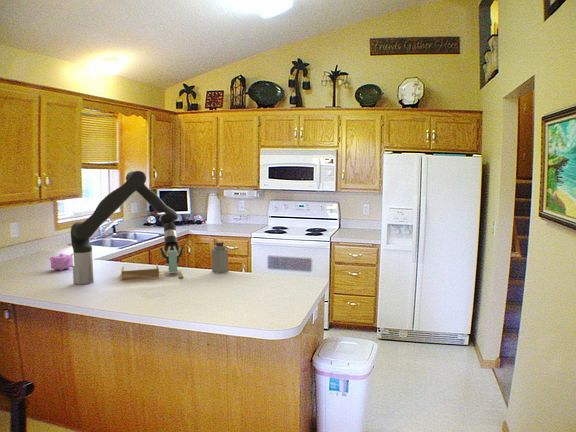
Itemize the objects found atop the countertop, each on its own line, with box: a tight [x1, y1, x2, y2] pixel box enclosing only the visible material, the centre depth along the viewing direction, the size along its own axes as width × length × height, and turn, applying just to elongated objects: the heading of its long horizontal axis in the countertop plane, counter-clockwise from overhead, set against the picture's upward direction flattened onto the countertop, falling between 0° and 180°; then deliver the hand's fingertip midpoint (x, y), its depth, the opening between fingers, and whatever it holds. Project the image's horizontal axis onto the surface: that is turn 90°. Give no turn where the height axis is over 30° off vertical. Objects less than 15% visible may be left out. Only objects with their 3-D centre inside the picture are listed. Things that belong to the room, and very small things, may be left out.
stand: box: [119, 263, 184, 282], centre depth 255 cm, size 16×34×6 cm, turn 109°
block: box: [168, 250, 178, 272], centre depth 258 cm, size 4×4×12 cm
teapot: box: [47, 252, 74, 272], centre depth 274 cm, size 18×13×10 cm
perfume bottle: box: [211, 241, 229, 274], centre depth 268 cm, size 7×7×18 cm
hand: (173, 262), depth 256 cm, fingers closed on block, 4 cm apart
